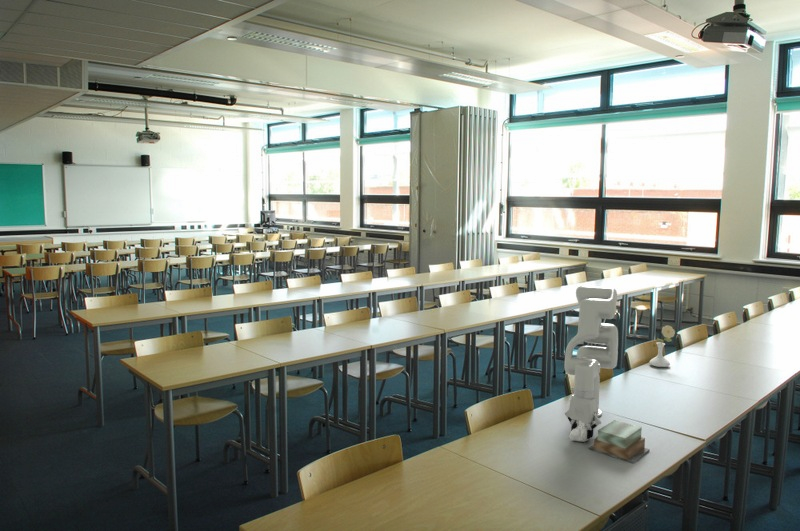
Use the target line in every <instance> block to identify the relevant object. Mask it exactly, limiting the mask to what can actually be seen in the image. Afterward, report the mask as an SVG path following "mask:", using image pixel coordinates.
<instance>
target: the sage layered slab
mask: <svg viewBox="0 0 800 531" xmlns="http://www.w3.org/2000/svg"><path fill="white" fill-rule="evenodd" d="M645 443H646V438H645V437H642V426H638V425H634V424H631V423H630V424H629V423H626V422H623V421H620V420H616V419H613V421H611V422H609V423H608V424H606V425H604V426H603V427H601V428H599V429H598V430H597V436H596V437H594V439H593V444H592V445H590V446H588V450H590V451H593V452H597V453H599V454H602V455H606V456H609V457H613V458H615V459H618V460H622V461H623V462H624V461H625V462H628V463H631V464H635V463H636V462H638V461H639V460H640V459H642V458H643V457H644V456H645V455H647V454H649V453H650V448H647V447H645V445H646V444H645Z"/></svg>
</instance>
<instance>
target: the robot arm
mask: <svg viewBox="0 0 800 531" xmlns="http://www.w3.org/2000/svg"><path fill="white" fill-rule="evenodd" d="M575 297H576V300H577V303H578V305H579V312H578V326H577V333H576V335H574V336H573V337H572V338H571V339H570V340H569V342H568V344H567V346H566V349H565V353H564V368H563V369H564V371H565V373H566V374H568V375H571V376H574V381H573V385H574V386H573V387H571V389H570V391H571V392H573V394H571V397H570V400H569V407H568V408H569V409H568V410H567V411H566V412H564V415H565V417H566V418H567V420H568V421H569V423H570V425H571V430H570V432H571V431H572V430H573V429H575V428H576V427H577V426H578V423H577V422H578V421H579V420H580V421H581V422H583V423H587V424H588V428H589V429H588V430H587V439H589V440H590V439H592V438H593V436H594V429H595V428H597V427H598V426H600V425H601V424H602V421H601V420H600V418H599V417H600V416H602V415H603V411H602V410H601V409H600V408H599V407H600V386H601V385H600V383H601V381H600V379H601V376H600V373H601V369H607V370H612V369H615V368H616V367H617V365H618V364H617V363H618V355H619V354H618V350H619V330H618V328H617V326H616V325H615V324H613V323H604V322H602V320H612V319H614V318H615V317H616V316H615V315H616V312H617V311H616V310H617V301H618V293H617V290H616V288H614V287H610V286H595V285H582V286H578V287H577V288H576V290H575ZM582 343H588V344H598V345H604V346H595V345H582V346H579V348H577V352H576V356H573V351H574V349H575V348H576V347H577V346H578V345H580V344H582ZM605 345H606V347H605ZM594 422H595V423H594Z"/></svg>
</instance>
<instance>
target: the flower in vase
mask: <svg viewBox="0 0 800 531" xmlns="http://www.w3.org/2000/svg"><path fill="white" fill-rule="evenodd" d="M661 328H662V329H661V334H662V335H663V337H664V339H663V340H662V339H660V338H658V337H656V339H657V340H658V341H660V342H655V343H656V346H657V350H658V351H657V355H656V356H655V357H652V358H651V359H650V360H649V365H651V366H653V367H658V368H667V367H670V365H671V362H670V361H669V360H668V359H667V358H666V357H664V356H663V351H664V350H663V348H664V346H665V345H666V343H664V341H666V342H667V343H669V342H670V343H671V342H673V339H672V338H673V337H675V334H676V331H675V329H674V328H673V327H672V326H671V325H668V324H667V325H664V326H662V327H661Z"/></svg>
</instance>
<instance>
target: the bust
mask: <svg viewBox="0 0 800 531" xmlns="http://www.w3.org/2000/svg"><path fill="white" fill-rule="evenodd" d="M577 422H578V425H577V427H576V428H575V429H573V430H572V431H571V430H570V432H569V435H568V438H569V441H572V442H573V441H574V442H582V443H584V442H587V441H589V440H590V439H587V430H588V429H589V428H588V424H587V423H583V422H581V421H580V420H579V421H577Z"/></svg>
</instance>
